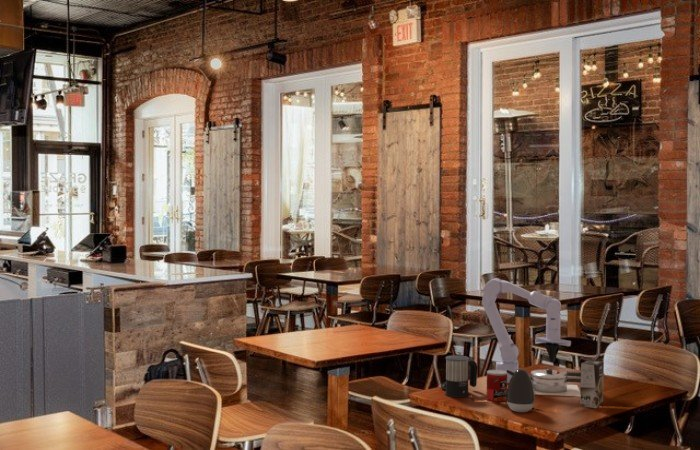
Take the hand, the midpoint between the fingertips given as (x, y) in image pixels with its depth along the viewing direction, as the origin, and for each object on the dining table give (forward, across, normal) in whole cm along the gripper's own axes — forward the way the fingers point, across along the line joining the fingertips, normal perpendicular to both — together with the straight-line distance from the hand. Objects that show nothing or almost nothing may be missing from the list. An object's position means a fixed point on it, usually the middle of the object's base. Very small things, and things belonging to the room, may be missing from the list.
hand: (552, 361), depth 338 cm
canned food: (+11, -6, -36) cm, 38 cm away
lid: (+4, +6, -7) cm, 10 cm away
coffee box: (+11, +24, -18) cm, 32 cm away
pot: (+9, +5, -8) cm, 13 cm away
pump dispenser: (+11, +8, -44) cm, 46 cm away
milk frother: (+11, -25, -36) cm, 45 cm away
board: (+10, +4, -8) cm, 14 cm away
